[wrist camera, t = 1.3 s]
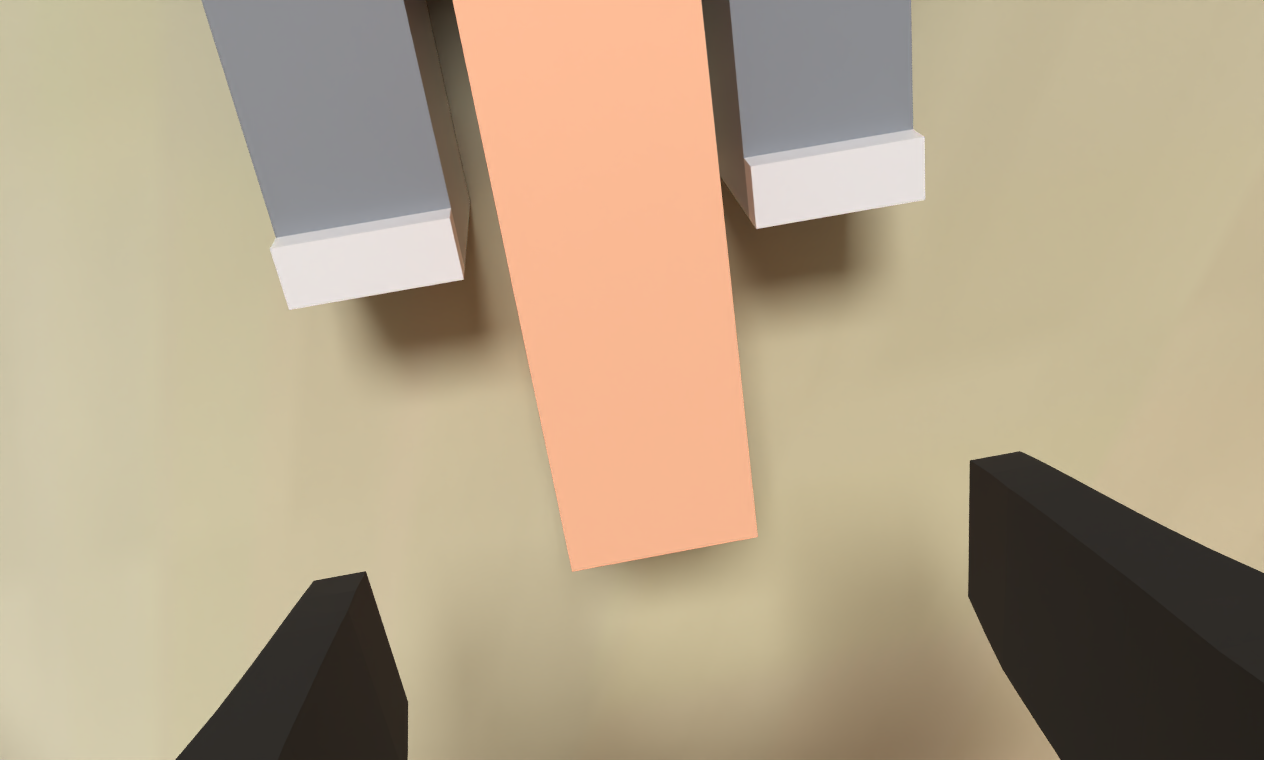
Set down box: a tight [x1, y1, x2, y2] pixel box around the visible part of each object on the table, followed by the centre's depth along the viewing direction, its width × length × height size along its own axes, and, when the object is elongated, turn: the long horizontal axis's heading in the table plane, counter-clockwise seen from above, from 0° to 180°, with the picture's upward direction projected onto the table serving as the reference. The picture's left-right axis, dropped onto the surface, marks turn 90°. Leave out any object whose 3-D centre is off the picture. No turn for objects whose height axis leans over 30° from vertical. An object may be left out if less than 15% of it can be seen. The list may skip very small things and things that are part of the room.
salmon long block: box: [453, 0, 758, 572], centre depth 17 cm, size 11×3×6 cm, turn 8°
